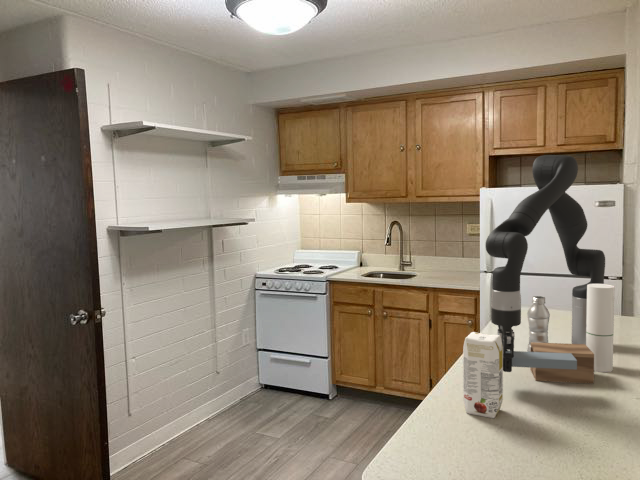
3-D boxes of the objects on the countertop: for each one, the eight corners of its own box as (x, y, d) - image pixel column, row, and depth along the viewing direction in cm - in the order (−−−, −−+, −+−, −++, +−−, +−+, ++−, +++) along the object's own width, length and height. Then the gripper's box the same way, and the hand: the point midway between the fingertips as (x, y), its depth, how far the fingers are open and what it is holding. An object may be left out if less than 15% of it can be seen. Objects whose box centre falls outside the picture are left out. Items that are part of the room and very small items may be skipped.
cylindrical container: (611, 365, 157) (613, 284, 155) (613, 373, 151) (615, 288, 148) (585, 362, 160) (586, 283, 158) (586, 370, 154) (587, 287, 151)
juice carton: (497, 421, 122) (497, 342, 121) (461, 413, 127) (460, 337, 125) (504, 409, 129) (504, 334, 127) (469, 402, 133) (469, 330, 131)
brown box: (530, 369, 156) (530, 342, 155) (584, 372, 152) (585, 344, 151) (535, 380, 147) (535, 351, 146) (593, 383, 143) (594, 354, 142)
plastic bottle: (552, 362, 161) (552, 299, 159) (529, 362, 162) (529, 299, 160) (547, 356, 167) (548, 295, 165) (525, 355, 169) (525, 295, 167)
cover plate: (492, 358, 143) (492, 350, 143) (571, 362, 139) (571, 353, 139) (495, 365, 138) (495, 357, 137) (576, 369, 133) (576, 360, 133)
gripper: (525, 312, 131) (524, 377, 132) (517, 300, 145) (516, 359, 146) (493, 312, 132) (493, 375, 134) (488, 300, 146) (488, 358, 148)
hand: (505, 367), depth 140 cm, fingers closed on cover plate, 6 cm apart
